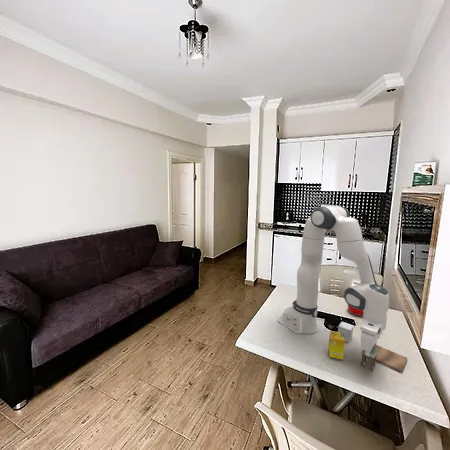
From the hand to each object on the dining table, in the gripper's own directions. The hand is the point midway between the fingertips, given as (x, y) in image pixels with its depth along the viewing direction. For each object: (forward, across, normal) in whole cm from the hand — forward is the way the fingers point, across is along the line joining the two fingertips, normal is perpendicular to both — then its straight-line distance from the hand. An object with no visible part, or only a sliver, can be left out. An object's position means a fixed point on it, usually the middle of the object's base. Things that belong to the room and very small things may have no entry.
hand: (370, 350), depth 112 cm
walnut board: (+8, -12, +5) cm, 15 cm away
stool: (+8, 0, 0) cm, 8 cm away
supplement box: (+8, +4, -13) cm, 16 cm away
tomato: (+8, -47, -19) cm, 51 cm away
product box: (+8, -14, -15) cm, 22 cm away
